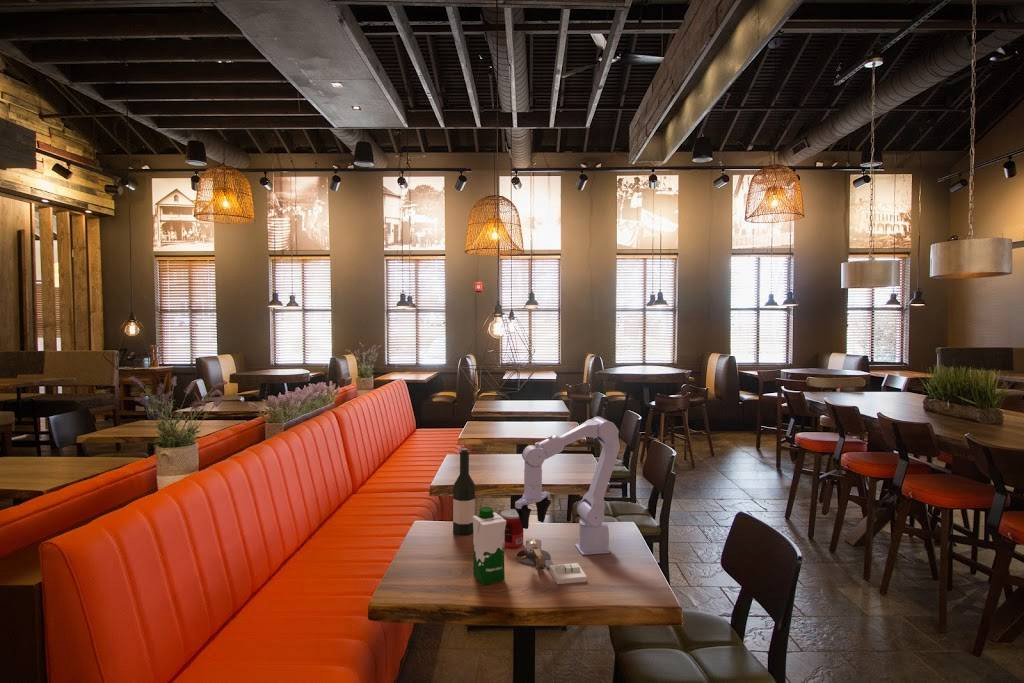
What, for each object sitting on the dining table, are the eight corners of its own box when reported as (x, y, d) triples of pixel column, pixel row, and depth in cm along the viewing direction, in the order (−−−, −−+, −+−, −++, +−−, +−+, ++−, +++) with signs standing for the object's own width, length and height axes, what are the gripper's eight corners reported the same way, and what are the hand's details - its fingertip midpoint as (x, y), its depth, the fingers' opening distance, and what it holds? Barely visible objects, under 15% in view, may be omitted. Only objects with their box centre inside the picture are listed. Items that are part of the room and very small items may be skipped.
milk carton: (495, 568, 169) (496, 504, 168) (509, 581, 161) (509, 514, 160) (469, 574, 165) (469, 508, 164) (481, 587, 157) (482, 519, 156)
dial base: (545, 549, 183) (545, 546, 183) (557, 569, 169) (557, 565, 169) (513, 551, 181) (513, 548, 181) (522, 571, 167) (522, 568, 167)
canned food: (524, 540, 190) (524, 509, 190) (522, 550, 182) (522, 517, 182) (502, 539, 191) (502, 508, 190) (499, 549, 183) (499, 516, 182)
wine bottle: (479, 528, 200) (479, 447, 199) (470, 537, 192) (470, 452, 191) (458, 525, 203) (458, 445, 201) (448, 534, 195) (448, 450, 193)
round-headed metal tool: (524, 552, 178) (524, 538, 178) (539, 551, 179) (539, 537, 179) (533, 572, 165) (533, 556, 164) (549, 571, 166) (550, 555, 165)
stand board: (577, 567, 170) (577, 556, 170) (586, 581, 161) (586, 569, 161) (549, 569, 168) (549, 558, 168) (557, 584, 159) (557, 572, 159)
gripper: (539, 476, 185) (538, 515, 186) (508, 485, 175) (508, 527, 176) (554, 480, 180) (554, 521, 181) (524, 490, 170) (524, 533, 171)
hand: (533, 524), depth 178 cm, fingers open, 7 cm apart
